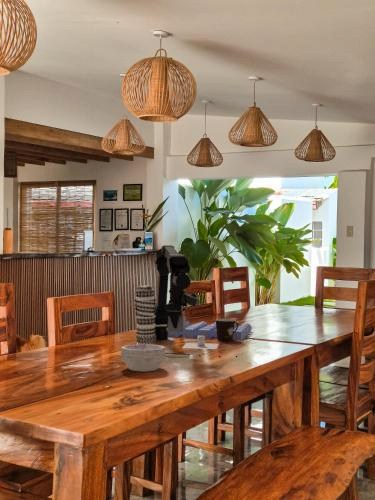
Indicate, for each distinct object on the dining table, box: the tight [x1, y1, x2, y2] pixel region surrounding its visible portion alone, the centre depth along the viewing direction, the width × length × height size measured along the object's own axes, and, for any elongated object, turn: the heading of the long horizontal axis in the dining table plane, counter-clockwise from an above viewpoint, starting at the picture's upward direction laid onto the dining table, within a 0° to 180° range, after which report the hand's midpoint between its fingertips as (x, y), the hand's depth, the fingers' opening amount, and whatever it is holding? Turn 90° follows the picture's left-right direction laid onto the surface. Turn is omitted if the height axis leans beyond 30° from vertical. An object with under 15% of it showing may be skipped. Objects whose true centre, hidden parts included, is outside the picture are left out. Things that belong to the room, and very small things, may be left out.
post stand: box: [181, 336, 220, 350], centre depth 269 cm, size 14×14×5 cm
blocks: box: [167, 320, 252, 341], centre depth 312 cm, size 35×34×5 cm
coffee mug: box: [215, 318, 239, 342], centre depth 287 cm, size 12×9×10 cm
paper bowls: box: [120, 343, 166, 373], centre depth 225 cm, size 15×15×8 cm
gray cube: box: [168, 315, 187, 332], centre depth 255 cm, size 6×6×6 cm
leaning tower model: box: [133, 284, 157, 345], centre depth 278 cm, size 9×9×25 cm
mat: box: [165, 352, 192, 359], centre depth 255 cm, size 11×11×1 cm
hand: (176, 327), depth 255 cm, fingers closed on gray cube, 6 cm apart
